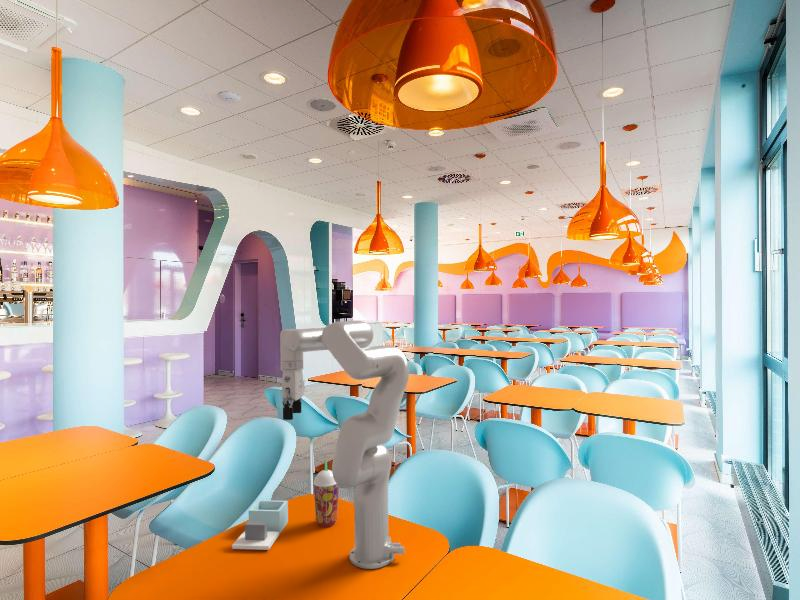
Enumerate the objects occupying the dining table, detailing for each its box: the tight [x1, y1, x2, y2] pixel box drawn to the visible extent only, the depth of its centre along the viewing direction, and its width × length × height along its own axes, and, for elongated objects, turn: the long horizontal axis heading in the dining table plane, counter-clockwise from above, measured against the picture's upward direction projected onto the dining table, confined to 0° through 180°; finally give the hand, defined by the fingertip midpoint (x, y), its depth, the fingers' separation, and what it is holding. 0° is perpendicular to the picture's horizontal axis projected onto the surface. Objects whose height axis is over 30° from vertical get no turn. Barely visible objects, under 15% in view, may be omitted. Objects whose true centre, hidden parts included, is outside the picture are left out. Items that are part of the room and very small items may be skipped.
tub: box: [248, 499, 289, 535], centre depth 152 cm, size 10×8×7 cm
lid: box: [231, 520, 280, 551], centre depth 142 cm, size 11×9×6 cm
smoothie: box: [312, 461, 340, 528], centre depth 155 cm, size 8×8×20 cm
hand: (292, 416), depth 159 cm, fingers open, 9 cm apart
